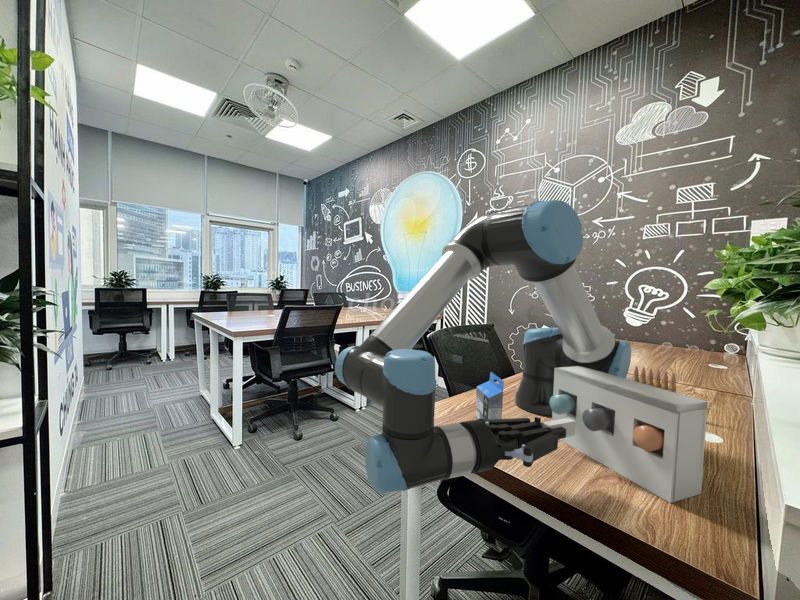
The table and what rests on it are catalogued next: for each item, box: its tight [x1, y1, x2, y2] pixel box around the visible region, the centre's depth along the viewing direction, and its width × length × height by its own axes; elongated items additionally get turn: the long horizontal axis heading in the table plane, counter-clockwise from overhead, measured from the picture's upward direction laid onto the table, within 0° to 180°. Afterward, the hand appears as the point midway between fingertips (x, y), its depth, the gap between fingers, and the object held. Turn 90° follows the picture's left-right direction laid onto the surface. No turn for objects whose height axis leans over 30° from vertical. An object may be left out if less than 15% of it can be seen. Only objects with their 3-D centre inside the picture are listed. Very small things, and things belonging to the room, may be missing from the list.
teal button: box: [550, 394, 575, 414], centre depth 72 cm, size 4×3×4 cm
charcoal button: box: [582, 408, 612, 431], centre depth 64 cm, size 4×3×4 cm
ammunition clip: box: [632, 365, 677, 393], centre depth 94 cm, size 11×2×12 cm, turn 36°
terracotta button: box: [633, 424, 665, 451], centre depth 56 cm, size 4×3×4 cm
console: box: [551, 366, 708, 504], centre depth 65 cm, size 25×8×16 cm, turn 20°
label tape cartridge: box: [474, 371, 505, 420], centre depth 81 cm, size 9×4×12 cm, turn 6°
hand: (571, 426), depth 60 cm, fingers closed
